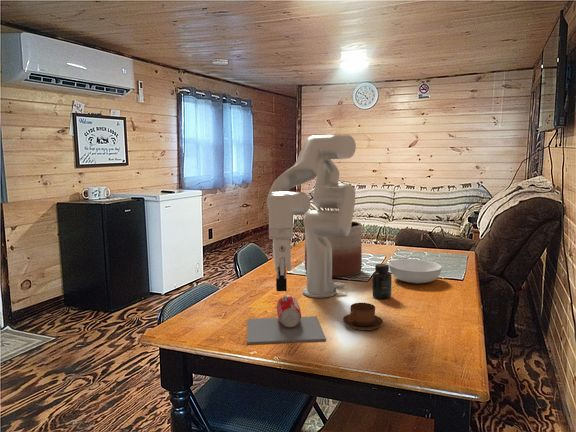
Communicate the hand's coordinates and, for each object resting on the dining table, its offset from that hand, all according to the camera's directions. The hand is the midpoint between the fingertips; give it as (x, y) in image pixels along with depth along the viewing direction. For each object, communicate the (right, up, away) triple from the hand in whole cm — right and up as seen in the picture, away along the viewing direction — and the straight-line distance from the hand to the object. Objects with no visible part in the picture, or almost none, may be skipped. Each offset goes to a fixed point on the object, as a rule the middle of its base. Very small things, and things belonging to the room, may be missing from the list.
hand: (281, 290), depth 139 cm
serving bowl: (+55, -4, +44) cm, 70 cm away
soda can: (+2, -5, +2) cm, 6 cm away
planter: (+22, -2, +59) cm, 63 cm away
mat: (+1, -10, -8) cm, 13 cm away
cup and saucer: (+25, -10, -5) cm, 27 cm away
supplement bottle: (+36, -6, +22) cm, 43 cm away
